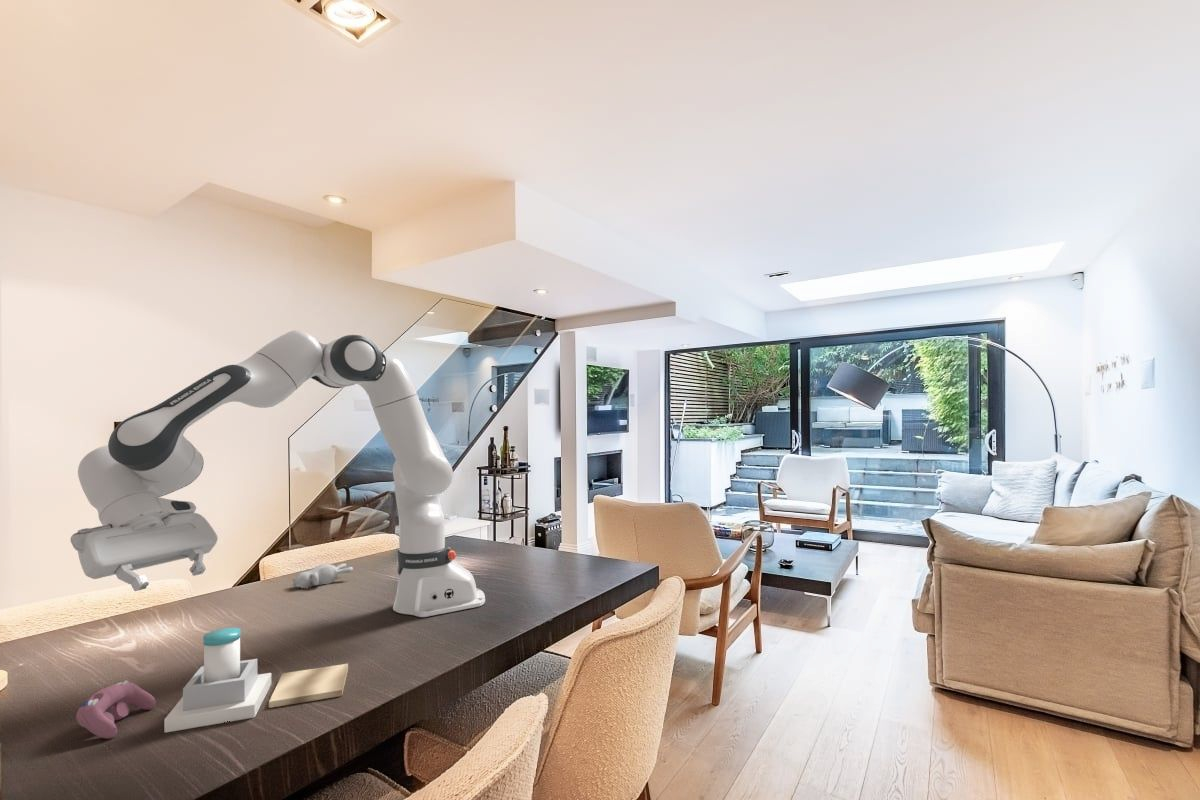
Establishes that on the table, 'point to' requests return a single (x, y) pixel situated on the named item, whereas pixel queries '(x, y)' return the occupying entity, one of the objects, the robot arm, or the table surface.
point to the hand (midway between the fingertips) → (172, 579)
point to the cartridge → (222, 654)
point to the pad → (309, 685)
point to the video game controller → (112, 707)
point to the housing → (219, 699)
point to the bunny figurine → (320, 575)
